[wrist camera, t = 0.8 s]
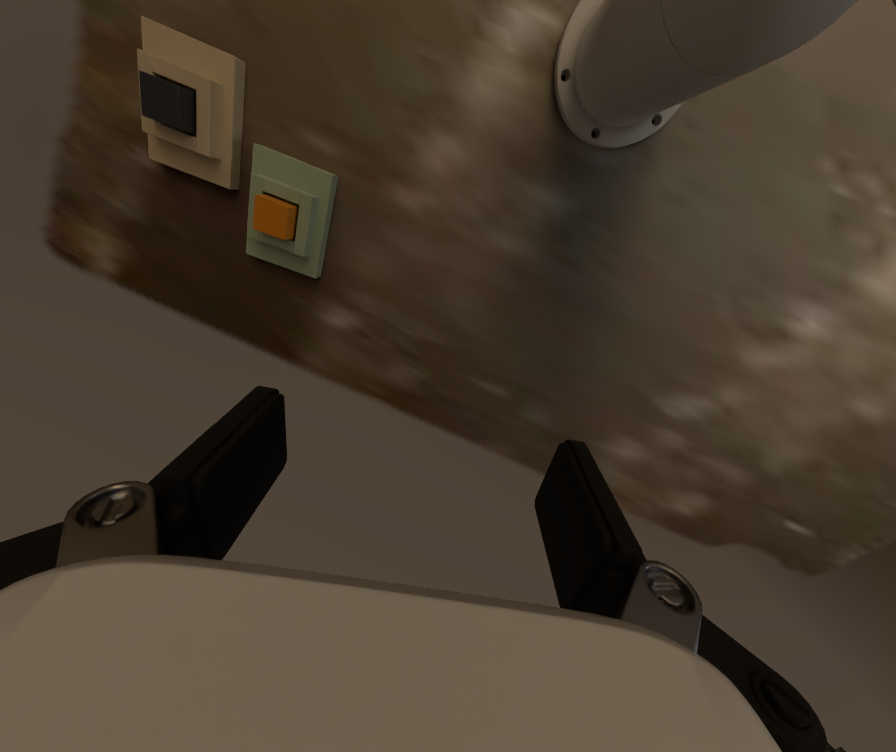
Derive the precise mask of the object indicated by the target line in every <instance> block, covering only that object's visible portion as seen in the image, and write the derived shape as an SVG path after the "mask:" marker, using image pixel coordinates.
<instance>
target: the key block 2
mask: <svg viewBox="0 0 896 752" xmlns="http://www.w3.org/2000/svg"><path fill="white" fill-rule="evenodd" d="M337 181H338V176H337V175H334V174H332V173H329V172H327V171H324V170H322V169H319V168H317V167H314V166H312V165H310V164H307V163H305V162H302V161H300V160H297V159H295V158H292V157H290V156H287V155H285V154H282V153H280V152H277V151H275V150H273V149H270V148H268V147H265V146H263V145H259V144H256V143H254V144H253V156H252V171H251V179H250V194H249V209H248V224H247V246H246V254H248V255H251V256H254V257H257V258H260V259H262V260H265V261H268V262H271V263H273V264H276V265H279V266H282V267H284V268H287V269H290V270H293V271H296V272H298V273H301V274H304V275H307V276H309V277H312V278H315V279H316V278H318V277H320V276H321V272H322V266H323V261H324V255H325V249H326V244H327V238H328V232H329V227H330V221H331V215H332V209H333V204H334V198H335V192H336V187H337ZM255 194H261V195H269V196H271V197H274V198H277V199H279V200H282V201H284V202H287V203H290V204H292V205H295V206H297V207H298V211H297V219H296V226H295V234H294V238H293V239H288V240H282V239H279V238H277V237H274V236H271V235H269V234H266V233H263V232H260V231H258V230H255V229H253V216H254V202H255Z"/></svg>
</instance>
